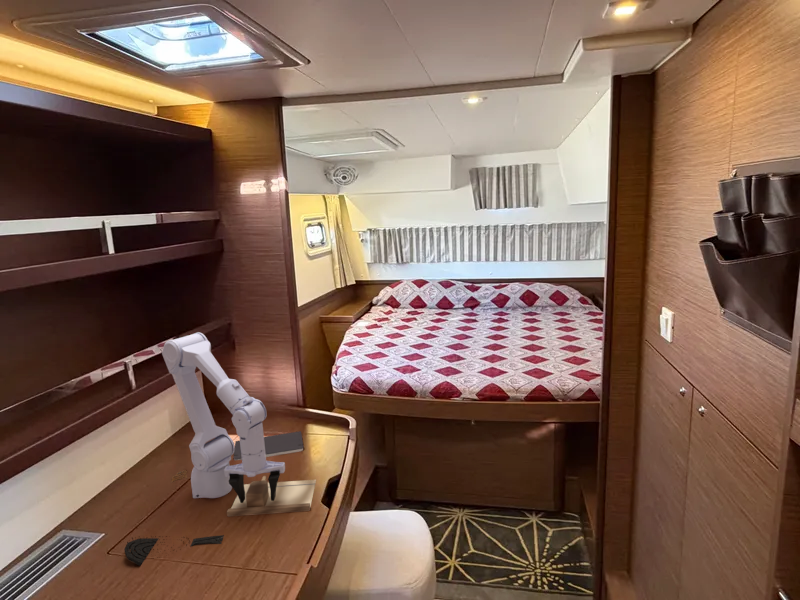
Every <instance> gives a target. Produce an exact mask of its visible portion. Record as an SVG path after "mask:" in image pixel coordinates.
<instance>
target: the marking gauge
mask: <svg viewBox="0 0 800 600" xmlns="http://www.w3.org/2000/svg"><path fill="white" fill-rule="evenodd" d="M268 483H269V481H268V479H267V476H266V475H263V476H262V477H261V480H253V481H251V482H250V483H249V484H250V486H249V488H248V491H247V493H246V502H247V507H262V506H265V505H266V503H267V500H268V497H269V492H268Z"/></svg>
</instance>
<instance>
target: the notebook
mask: <svg viewBox="0 0 800 600" xmlns="http://www.w3.org/2000/svg"><path fill="white" fill-rule="evenodd" d="M264 444H265V454H266V458H270V457H273V456H274V457H275V456H281V455H286V454H293V453H298V452H303V451H304V448H305V447H304V443H303V435H302V431H294V432H287V433H280V434H274V435H268V436H264ZM234 446H235V450H234V453H233V455H232V456H233V460H234V461H242V456H241V447H240V440H236V441H234Z"/></svg>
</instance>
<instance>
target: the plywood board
mask: <svg viewBox="0 0 800 600" xmlns="http://www.w3.org/2000/svg"><path fill="white" fill-rule="evenodd" d="M316 481H317V479H306V480H305V479H304V480H292V481H291V480H290V481H278V482H277V487H276V497H275V500H274V501H271V491H270V485H269V482H268V492H269V497H268V500H267V503H266V505H265V506H262V507H247V502H246V493H247V491H248V488H249V486H250V484H251V483H248V484H247V483H246V484H245V483H244V489H245V500H244V502H243V503H240V500H239V497H238V495H237V494H236V497H235V499H234V501H233V503H232V506H231V508H228V509H227V511H226V516H227V517H238V516H239V517H240V516H252V515H253V516H254V515H255V516H256V515H266V514H269V515H270V514H281V513H283V514H284V513H292V512H293V513H294V512H296V513H297V512H309V511H310V510H311V506H312V502H313V501H312V500H313V496H314V492H315V488H316V483H317V482H316Z"/></svg>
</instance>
